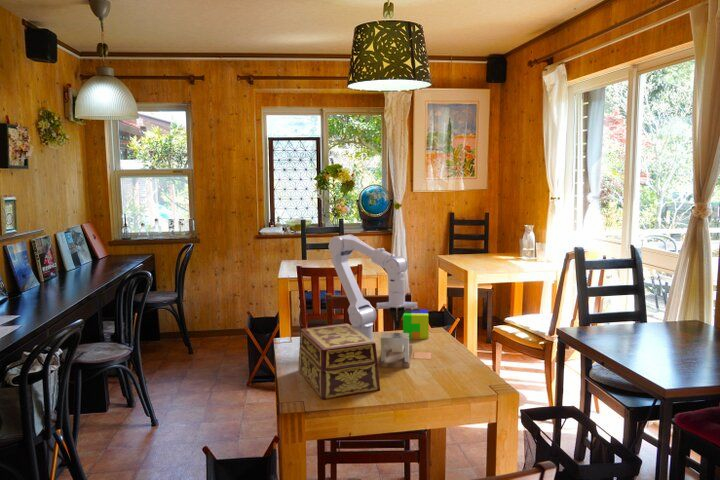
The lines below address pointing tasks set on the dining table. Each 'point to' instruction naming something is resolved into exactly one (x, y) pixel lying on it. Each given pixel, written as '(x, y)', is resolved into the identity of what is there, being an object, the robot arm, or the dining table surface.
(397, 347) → the cream block
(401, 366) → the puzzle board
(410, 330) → the puzzle toy
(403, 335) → the sliding cover
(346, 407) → the dining table surface
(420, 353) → the terracotta tile
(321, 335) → the decorative box
